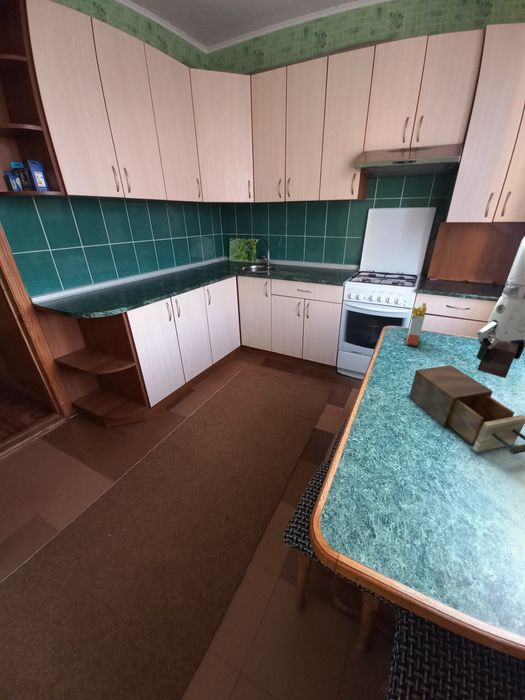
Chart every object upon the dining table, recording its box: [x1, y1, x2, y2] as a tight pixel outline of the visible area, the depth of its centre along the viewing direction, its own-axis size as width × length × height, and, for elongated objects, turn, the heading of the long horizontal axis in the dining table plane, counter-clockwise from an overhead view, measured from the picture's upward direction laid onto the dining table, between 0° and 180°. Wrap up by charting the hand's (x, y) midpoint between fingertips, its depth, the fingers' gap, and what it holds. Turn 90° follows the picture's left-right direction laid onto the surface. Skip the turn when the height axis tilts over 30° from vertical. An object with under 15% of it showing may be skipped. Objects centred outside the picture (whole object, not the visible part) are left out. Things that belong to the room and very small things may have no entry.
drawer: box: [447, 394, 525, 455], centre depth 74 cm, size 20×11×9 cm, turn 13°
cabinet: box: [408, 364, 493, 428], centre depth 86 cm, size 15×13×11 cm
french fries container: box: [406, 302, 427, 347], centre depth 125 cm, size 5×11×18 cm, turn 153°
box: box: [476, 338, 519, 379], centre depth 73 cm, size 6×6×7 cm
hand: (497, 358), depth 73 cm, fingers closed on box, 8 cm apart
